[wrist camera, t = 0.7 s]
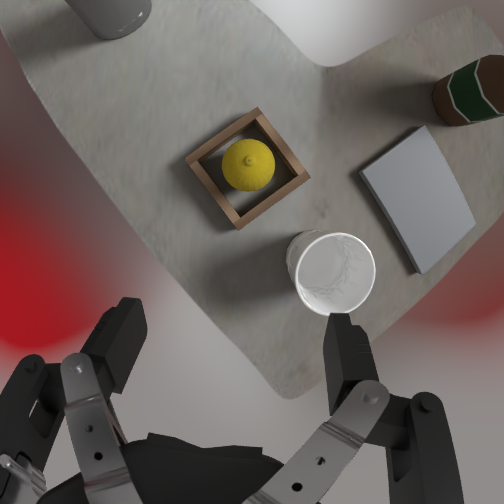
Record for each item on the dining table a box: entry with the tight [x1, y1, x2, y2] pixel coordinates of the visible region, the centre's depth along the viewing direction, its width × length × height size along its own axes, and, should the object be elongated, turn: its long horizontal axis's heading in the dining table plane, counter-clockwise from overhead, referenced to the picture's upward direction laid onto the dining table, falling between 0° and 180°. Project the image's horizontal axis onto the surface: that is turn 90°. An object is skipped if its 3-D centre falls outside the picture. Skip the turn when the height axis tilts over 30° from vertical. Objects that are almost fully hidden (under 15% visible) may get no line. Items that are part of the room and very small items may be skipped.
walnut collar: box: [185, 107, 311, 231], centre depth 35 cm, size 10×10×2 cm
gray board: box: [358, 125, 476, 275], centre depth 37 cm, size 16×12×2 cm
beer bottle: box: [432, 55, 504, 126], centre depth 24 cm, size 8×8×24 cm
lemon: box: [222, 139, 275, 192], centre depth 33 cm, size 6×6×8 cm
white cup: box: [286, 230, 375, 316], centre depth 34 cm, size 8×8×10 cm
